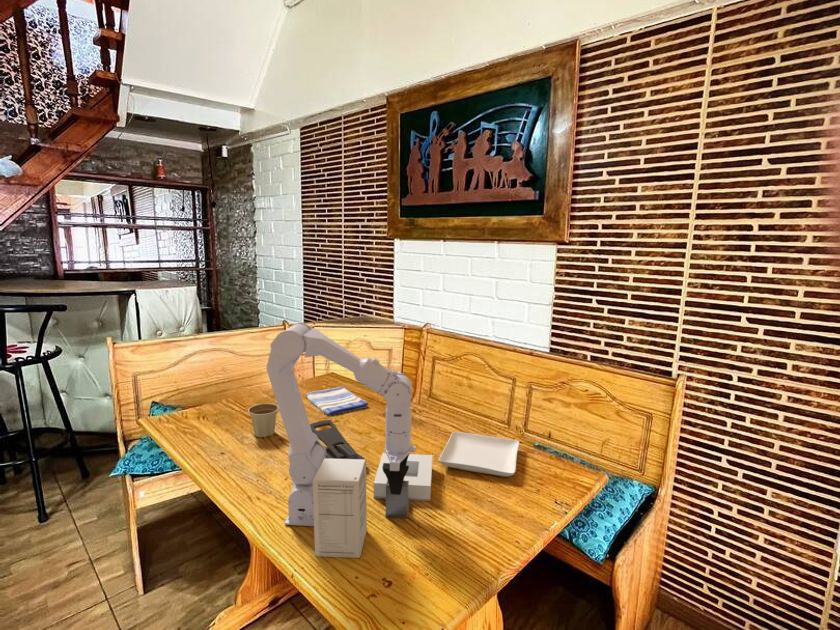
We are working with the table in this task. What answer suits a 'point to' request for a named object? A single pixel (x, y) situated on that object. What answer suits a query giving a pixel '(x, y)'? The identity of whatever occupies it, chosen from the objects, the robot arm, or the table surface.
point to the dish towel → (336, 400)
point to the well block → (409, 477)
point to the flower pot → (263, 419)
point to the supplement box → (340, 508)
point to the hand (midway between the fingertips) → (397, 484)
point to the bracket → (397, 502)
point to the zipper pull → (334, 441)
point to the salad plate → (480, 454)
